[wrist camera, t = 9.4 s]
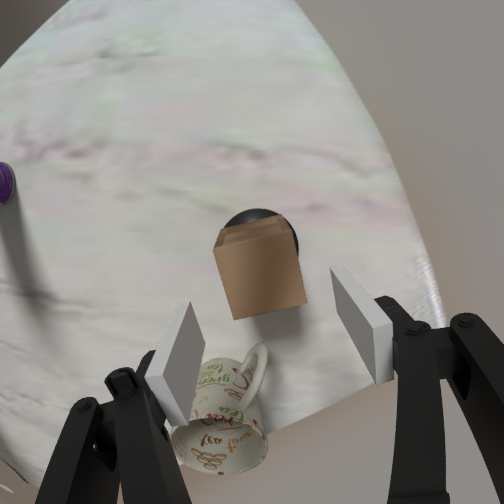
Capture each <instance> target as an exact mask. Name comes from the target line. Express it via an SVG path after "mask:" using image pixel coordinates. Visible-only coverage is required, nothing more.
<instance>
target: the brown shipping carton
mask: <svg viewBox="0 0 504 504" xmlns="http://www.w3.org/2000/svg"><path fill="white" fill-rule="evenodd" d="M213 253H214V256H215V259H216V263H217V266H218V270H219V273H220V276H221V280H222V283H223V286H224V290H225V293H226V296H227V299H228V303H229V306H230V309H231V312H232V316H233V319H234V320H238V319H242V318H247V317H251V316H255V315H260V314H264V313H268V312H273V311H277V310H281V309H285V308H289V307H293V306H297V305H301V304H305V303H307V299H306V294H305V290H304V285H303V280H302V275H301V270H300V266H299V261H298V257H297V252H296V247H295V243H294V238H293V234H292V230H291V229H290V227H289V225H288V224H287V222H286V221H285V219H284V217H283V216H282V214H280V215H276V216H271V217H267V218H263V219H259V220H255V221H251V222H247V223H243V224H239V225H235V226H231V227H227V228H223V229H221V230H220V233H219V236H218V238H217V241H216V243H215V246H214V249H213Z"/></svg>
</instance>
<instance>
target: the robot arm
mask: <svg viewBox="0 0 504 504" xmlns="http://www.w3.org/2000/svg"><path fill="white" fill-rule="evenodd" d="M330 272H331V278H332V284H333V290H334V296H335V302H336V308H337V313H338V315H339V317H340V318H341V320H342V322H343V324H344V326H345V328H346V329H347V331H348V333H349V335H350V337H351V339H352V340H353V342H354V344H355V346H356V348H357V350H358V352H359V353H360V355H361V357H362V359H363V361H364V363H365V365H366V367H367V369H368V370H369V372H370V374H371V376H372V378H373V380H374V382H375V384H376V385H379V384H382V383H385V382H388V381H391V380H394V370H395V371H396V372H397V374H398V398H397V419H396V433H395V446H394V456H393V465H392V473H391V481H390V488H389V495H388V501H387V504H450V497H449V493H447V492H446V453H445V432H444V417H443V407H442V396H441V387H440V379H447V381H448V383H449V385H450V387H451V389H452V391H453V393H454V395H455V397H456V399H457V401H458V403H459V405H460V407H461V409H462V411H463V414H464V416H465V418H466V420H467V422H468V424H469V427H470V429H471V431H472V433H473V435H474V438H475V440H476V442H477V445H478V447H479V449H480V451H481V454H482V456H483V458H484V461H485V464H486V466H487V469H488V471H489V473H490V476H491V479H492V481H493V484H494V487H495V489H496V492H497V495H498V498H499V500H500V504H504V344H503V343H502V342H501V341H500V340H499V338H497V336H496V335H495V334H494V333H493V332H492V330H491V329H490V328H489V327H488V326H487V325H486V323H485V322H484V321H483V320H482V319H481V318H480V317H479V316H478V315H476V314H473V313H461V314H458V315H456V316H454V317H453V318H452V319H451V321H450V327H446V328H439V329H431V327H430V325H429V324H428V323H426V322H423V321H415V320H414V319H413V318H412V317H411V316H410V315H409V314H408V313H407V312H406V311H405V310H404V309H403V308H402V307H401V306H400V305H399V304H398V303H397V301H396V300H395V299H393V298H391V297H388V296H386V295H385V296H382V297H379V298H375V299H373V298H372V297H371V296H370V295H369V293H368V292H367V291H366V290H365V289H364V287H363V286H362V285H361V284H360V283H359V282H358V280H357V279H356V278H355V277H354V276H353V275H352V274H351V272H350V271H349V270H348V269H347V268H346V267H345V265H344V264H342V265H338V266H334V267H330ZM204 347H205V341H204V338H203V335H202V333H201V330H200V327H199V324H198V322H197V319H196V316H195V313H194V311H193V308H192V305H191V302H190V301H188V302H184V303H179V304H177V305H176V308H175V310H174V312H173V314H172V316H171V318H170V321H169V323H168V325H167V327H166V329H165V332H164V334H163V336H162V338H161V340H160V343H159V345H158V347H157V349H156V350H152V351H149V352H148V353H147V354H146V355H145V356H144V357H143V358H142V360H141V362H140V365H139V366H138V368H137V370H136V373H135V372H134V370H133V369H132V368H129V367H124V368H119V369H117V370H115V371H113V372H111V373H110V374H109V375H108V376H107V377H106V378H105V381H104V382H105V384H106V386H107V388H108V389H109V391H110V393H111V394H112V396H113V398H114V400H113V401H110V402H107V403H104V404H100V405H99V403H98V401H97V400H96V398H94V397H86V398H82V399H81V400H78V401H77V402H76V403H75V404H74V405H73V407H72V408H71V410H70V413H69V415H68V417H67V420H66V422H65V424H64V427H63V429H62V432H61V434H60V436H59V439H58V441H57V444H56V446H55V449H54V451H53V454H52V457H51V459H50V462H49V465H48V467H47V470H46V473H45V475H44V478H43V481H42V484H41V487H40V490H39V492H38V495H37V498H36V501H35V504H117V498H118V491H119V484H120V481H121V488H122V494H123V501H124V504H192V502H191V500H190V497H189V494H188V491H187V489H186V486H185V483H184V480H183V477H182V474H181V471H180V468H179V465H178V462H177V459H176V456H175V453H174V450H173V447H172V443H171V440H170V437H169V433H168V431H167V429H166V428H165V426H164V423H165V420H166V418H167V420H168V422H169V423H170V425H171V427H174V426H185V425H188V424H189V419H190V414H191V409H192V405H193V400H194V395H195V390H196V385H197V380H198V376H199V371H200V366H201V361H202V357H203V352H204ZM93 445H94V446H95V448H94V447H93Z"/></svg>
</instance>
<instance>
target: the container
mask: <svg viewBox="0 0 504 504" xmlns="http://www.w3.org/2000/svg"><path fill="white" fill-rule="evenodd" d="M14 190H15V176H14V172H13V170H12V168H11V167H10V165H8V164H7V163H5V162H0V205H2V204H5V203H7V202H9V201H10V199H11V198H12V196H13V194H14Z"/></svg>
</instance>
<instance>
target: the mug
mask: <svg viewBox="0 0 504 504" xmlns="http://www.w3.org/2000/svg"><path fill="white" fill-rule="evenodd" d="M256 356H258V361H257V366H256V370H255V373H254V376H253V379H252V375H251V373H250V371H249V370H248V369H247V368H248V366H249V365H250V364H251V362H252V361H253V360H254V358H255V357H256ZM267 363H268V348H267V345H266V344H265V343H262V342H260V343H258V344H256V345H255V346H254V347H253V348H251V349H250V350H249V352H248V353H247V355H246V357H245V359H244V361H243V363H242V364H241V363H240V362H238V361H235V360H232V359H226V358H219V359H213V360H210V361H208V362H206V363H205V364H203V365H202V366H201V367H200V371H199V376H198V380H197V385H196V390H195V395H194V400H193V405H192V409H191V414H190V419H189V424H188V425H185V426H174V427H172V429H171V432H170V436H169V437H170V440H171V443H172V447H173V450H174V453H175V456H176V457H177V458H178V459H179V460H180V461H181V462H183V463H184V464H186V465H187V466H189V467H191V468H194V469H196V470H199V471H202V472H205V473H211V474H219V475H229V474H237V473H242V472H245V471H248V470H250V469H252V468H254V467H256V466H257V465H259V464H260V463H261V462H262V461H263V460H264V458H265V457H266V454H267V451H268V441H267V436H266V432H265V428H264V424H263V420H262V416H261V412H260V408H259V403H258V399H257V395H256V394H257V392H258V391H259V389H260V386H261V384H262V381H263V378H264V375H265V371H266V367H267Z"/></svg>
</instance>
